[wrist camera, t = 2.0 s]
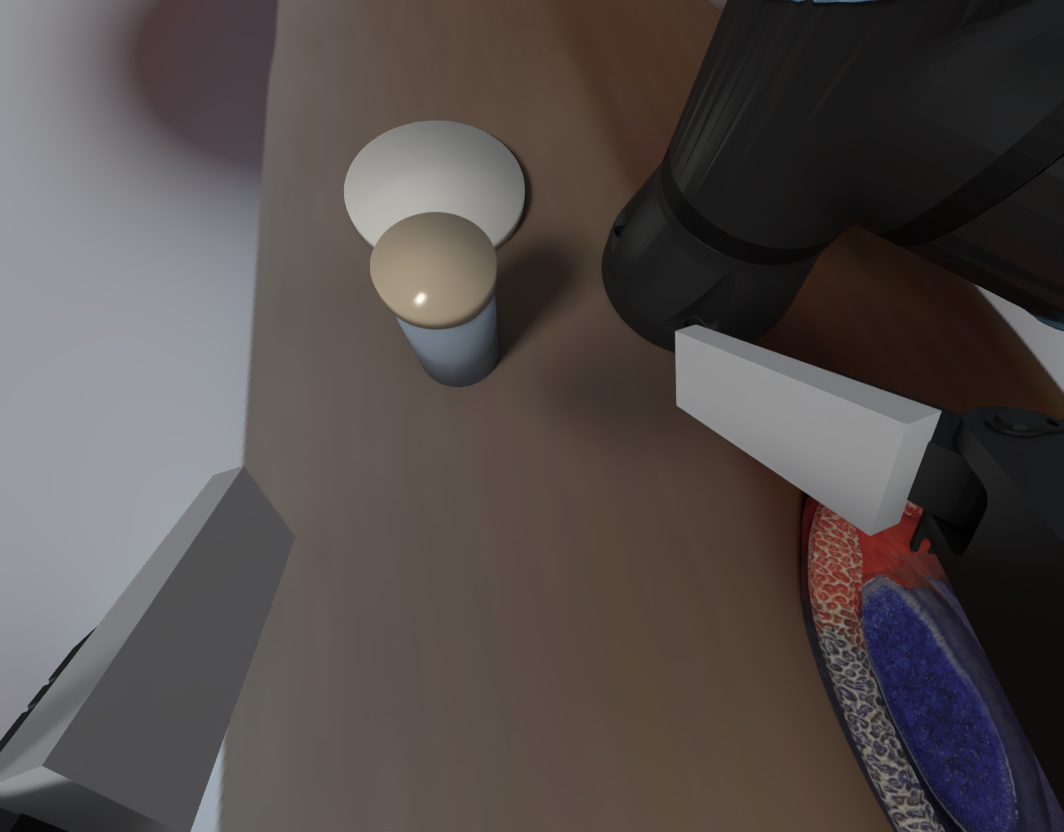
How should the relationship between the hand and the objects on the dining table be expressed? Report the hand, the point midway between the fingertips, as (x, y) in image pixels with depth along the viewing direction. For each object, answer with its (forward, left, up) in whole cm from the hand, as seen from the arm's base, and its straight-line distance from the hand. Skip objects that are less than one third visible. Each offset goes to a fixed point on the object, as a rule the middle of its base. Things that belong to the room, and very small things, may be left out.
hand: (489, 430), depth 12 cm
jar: (-2, -11, -15) cm, 19 cm away
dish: (-17, +24, -16) cm, 34 cm away
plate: (-7, -25, -15) cm, 30 cm away
